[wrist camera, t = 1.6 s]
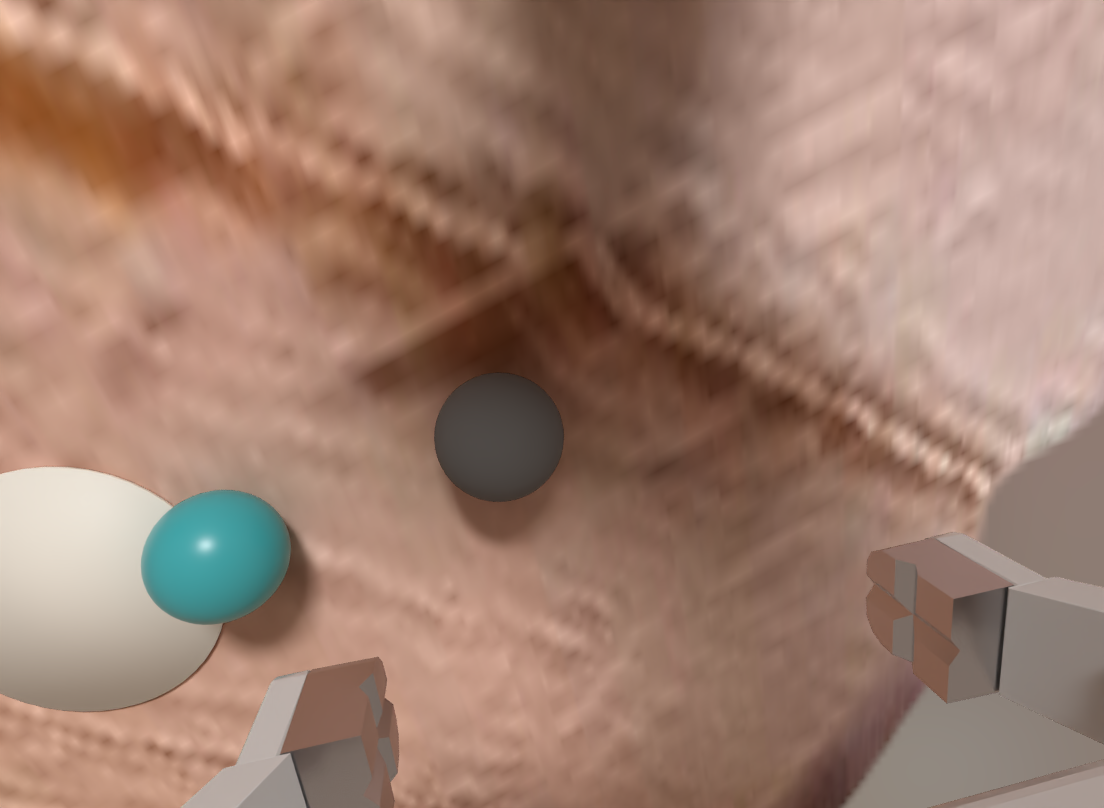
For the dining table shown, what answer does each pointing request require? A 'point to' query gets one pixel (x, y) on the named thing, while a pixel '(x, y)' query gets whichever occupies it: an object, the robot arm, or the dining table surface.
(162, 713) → the dining table surface
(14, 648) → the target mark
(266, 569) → the object ball
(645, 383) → the dining table surface
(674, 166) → the dining table surface
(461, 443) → the dark grey ball
